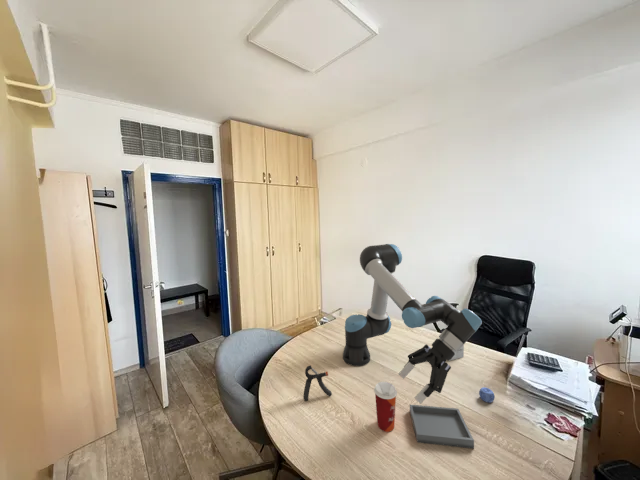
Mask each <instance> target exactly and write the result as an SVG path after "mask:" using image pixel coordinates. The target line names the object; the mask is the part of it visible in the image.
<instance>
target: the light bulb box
mask: <svg viewBox="0 0 640 480" xmlns="http://www.w3.org/2000/svg"><path fill="white" fill-rule="evenodd" d="M464 345H465V344H464ZM464 345H463V346H462V347H461V348H460V349H459V350H458V351H457V352H454V353H455V355H454V356H453V357H452V358H451V359H450V360H447V361H448V362H449V361H453V360H457V359H461V358H464V356H465V355H464V354H465V353H464V351H465V347H464Z"/></svg>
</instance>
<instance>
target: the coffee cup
mask: <svg viewBox="0 0 640 480" xmlns="http://www.w3.org/2000/svg"><path fill="white" fill-rule="evenodd" d="M373 392H374V394H375V408H376V419H377V421H376V423H377V426H378V428H379V430H380V431H382V432H386V433H390V432H392V431H394V429H395V419H396V401H397V400H396V399H397V395H398V392H397V389H396V387H395V385H393V383H390V382H388V381H378V382H377V383H376V384H375V386H374V388H373Z"/></svg>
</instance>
